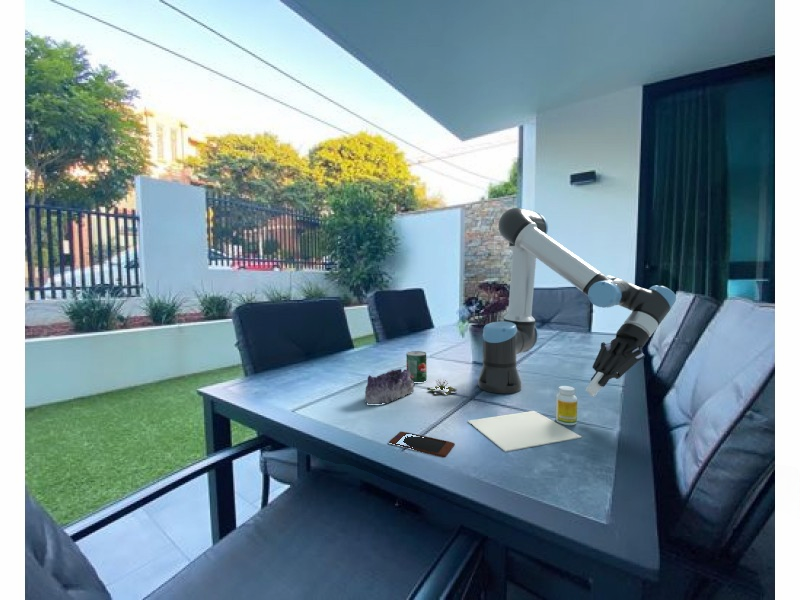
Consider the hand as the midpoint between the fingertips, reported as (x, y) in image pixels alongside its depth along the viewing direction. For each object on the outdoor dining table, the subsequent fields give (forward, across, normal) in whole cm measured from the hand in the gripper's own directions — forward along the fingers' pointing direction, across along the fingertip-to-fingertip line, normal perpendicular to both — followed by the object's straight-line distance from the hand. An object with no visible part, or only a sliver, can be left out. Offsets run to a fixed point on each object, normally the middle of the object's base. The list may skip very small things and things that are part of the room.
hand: (590, 392), depth 99 cm
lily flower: (+27, +36, +15) cm, 47 cm away
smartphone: (+41, +1, +30) cm, 51 cm away
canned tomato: (+29, +51, +18) cm, 61 cm away
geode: (+40, +36, +29) cm, 61 cm away
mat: (+21, 0, +11) cm, 24 cm away
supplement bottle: (+11, 0, 0) cm, 11 cm away
